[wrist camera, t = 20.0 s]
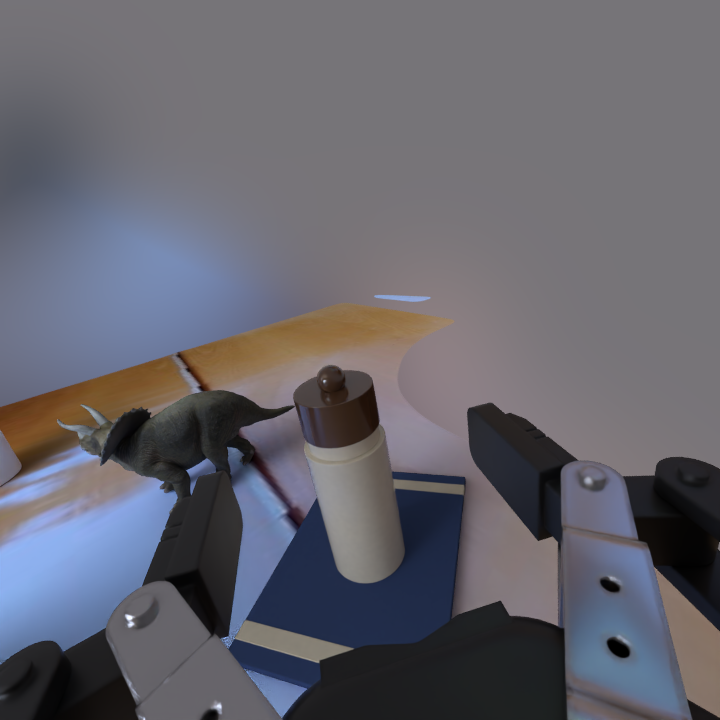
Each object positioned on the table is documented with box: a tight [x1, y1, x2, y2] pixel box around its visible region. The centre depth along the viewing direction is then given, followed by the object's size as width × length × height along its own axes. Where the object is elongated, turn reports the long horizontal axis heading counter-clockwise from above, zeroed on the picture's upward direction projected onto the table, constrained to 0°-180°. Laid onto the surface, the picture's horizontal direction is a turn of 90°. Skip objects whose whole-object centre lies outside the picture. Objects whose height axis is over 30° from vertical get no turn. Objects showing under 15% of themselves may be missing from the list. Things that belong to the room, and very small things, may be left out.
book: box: [228, 472, 466, 689], centre depth 28 cm, size 13×18×1 cm
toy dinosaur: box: [57, 390, 295, 513], centre depth 38 cm, size 22×8×11 cm, turn 114°
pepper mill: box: [293, 365, 405, 583], centre depth 25 cm, size 5×5×15 cm
